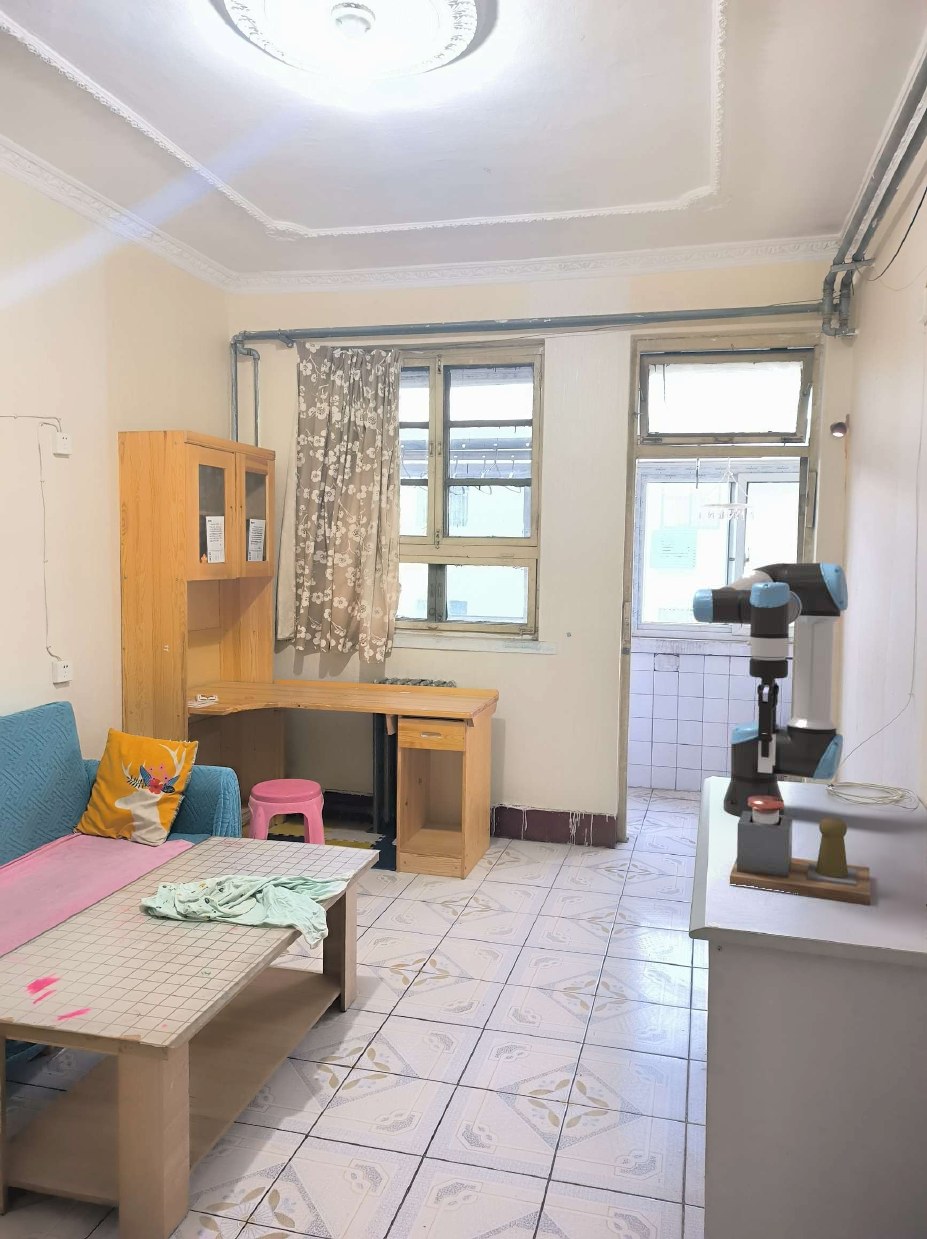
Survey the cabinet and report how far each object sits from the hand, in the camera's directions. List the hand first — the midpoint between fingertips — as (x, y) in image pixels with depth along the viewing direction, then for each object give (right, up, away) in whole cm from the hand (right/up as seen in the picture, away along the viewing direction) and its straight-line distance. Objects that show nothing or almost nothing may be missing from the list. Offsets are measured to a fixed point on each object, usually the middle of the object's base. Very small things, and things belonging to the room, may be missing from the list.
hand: (766, 768), depth 183 cm
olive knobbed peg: (+12, -21, -4) cm, 24 cm away
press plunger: (0, -16, +1) cm, 16 cm away
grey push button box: (0, -21, +2) cm, 21 cm away
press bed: (+7, -23, -1) cm, 24 cm away
